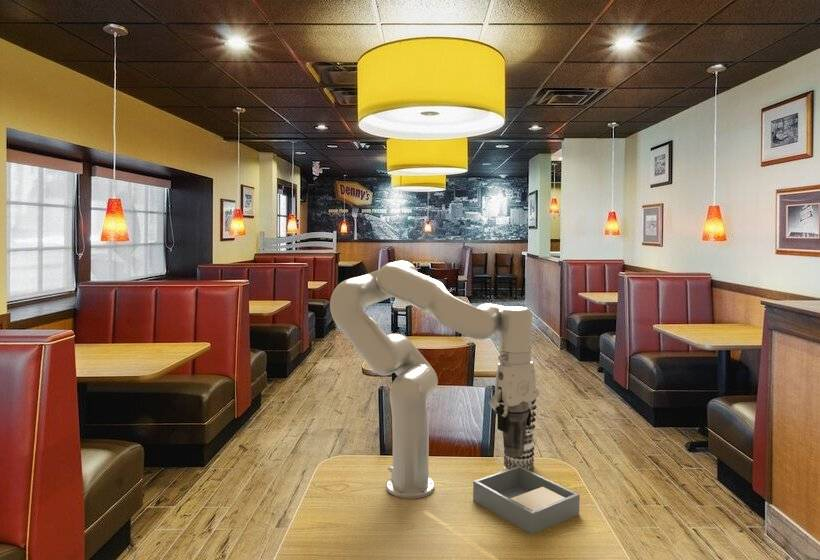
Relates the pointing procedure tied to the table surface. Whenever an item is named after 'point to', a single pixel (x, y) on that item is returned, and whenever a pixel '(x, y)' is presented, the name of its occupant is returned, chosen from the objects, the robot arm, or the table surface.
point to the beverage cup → (516, 429)
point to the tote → (518, 481)
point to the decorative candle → (528, 453)
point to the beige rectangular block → (537, 498)
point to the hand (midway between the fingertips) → (514, 427)
